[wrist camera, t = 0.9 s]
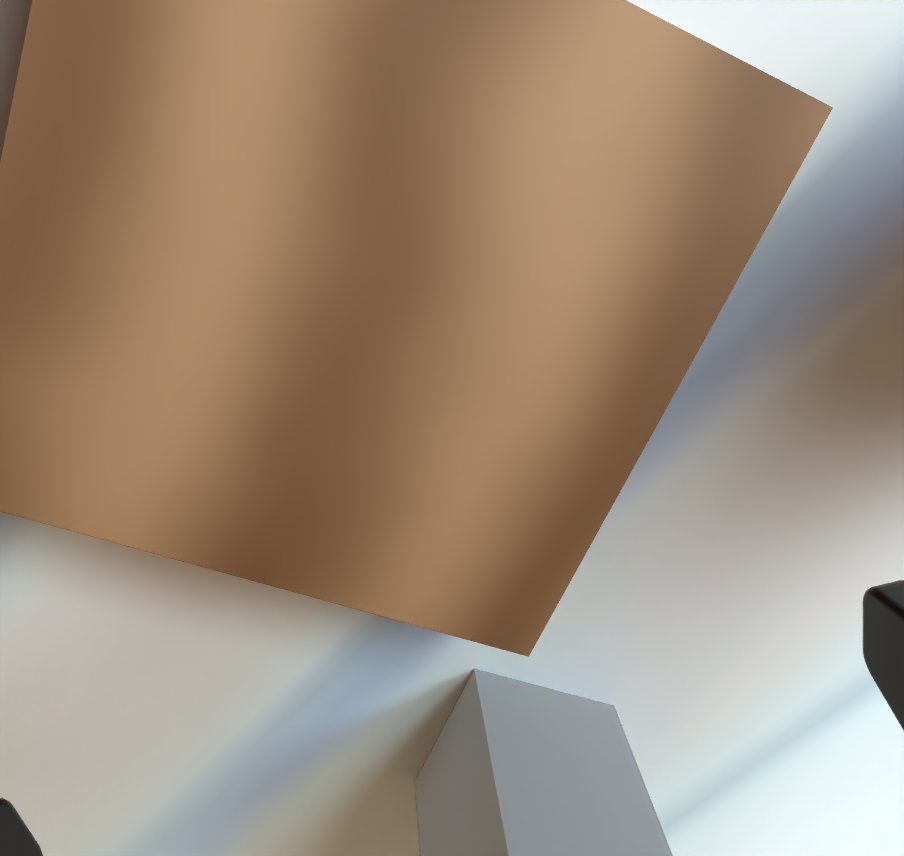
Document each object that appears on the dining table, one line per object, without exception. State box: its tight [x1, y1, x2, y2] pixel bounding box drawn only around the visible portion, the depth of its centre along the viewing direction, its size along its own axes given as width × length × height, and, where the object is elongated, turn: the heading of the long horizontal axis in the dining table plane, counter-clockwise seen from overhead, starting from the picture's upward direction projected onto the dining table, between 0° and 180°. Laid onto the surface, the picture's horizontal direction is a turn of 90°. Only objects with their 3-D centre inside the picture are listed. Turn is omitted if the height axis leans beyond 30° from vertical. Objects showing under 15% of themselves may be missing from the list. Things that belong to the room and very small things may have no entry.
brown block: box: [0, 0, 833, 657], centre depth 18 cm, size 14×14×4 cm
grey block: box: [415, 669, 672, 856], centre depth 23 cm, size 5×5×7 cm
